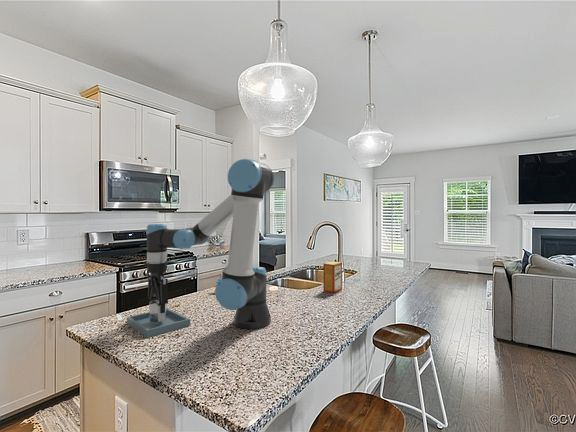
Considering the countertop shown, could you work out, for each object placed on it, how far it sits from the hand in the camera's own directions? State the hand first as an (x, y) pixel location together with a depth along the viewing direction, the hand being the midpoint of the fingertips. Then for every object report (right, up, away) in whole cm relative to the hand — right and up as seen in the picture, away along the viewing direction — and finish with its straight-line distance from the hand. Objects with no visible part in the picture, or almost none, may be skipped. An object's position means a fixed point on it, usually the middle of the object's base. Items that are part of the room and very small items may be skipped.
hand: (157, 318), depth 131 cm
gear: (+18, -1, +50) cm, 54 cm away
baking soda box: (+78, -1, +52) cm, 94 cm away
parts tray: (0, -2, 0) cm, 2 cm away
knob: (0, 0, 0) cm, 0 cm away
